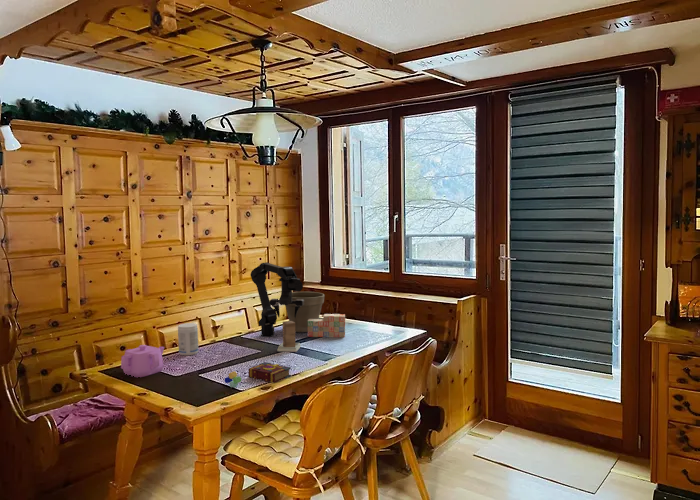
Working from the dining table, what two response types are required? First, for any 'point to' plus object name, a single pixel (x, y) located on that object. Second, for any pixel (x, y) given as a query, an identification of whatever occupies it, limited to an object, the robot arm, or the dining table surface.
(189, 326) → the supplement tub
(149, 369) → the teakettle
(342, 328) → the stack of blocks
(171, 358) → the dining table surface
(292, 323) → the walnut post
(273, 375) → the decorative book
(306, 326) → the plant pot
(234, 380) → the dice
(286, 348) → the cream square tray
